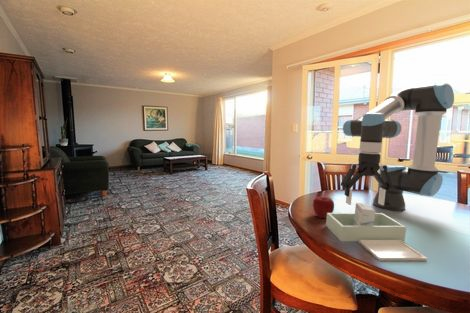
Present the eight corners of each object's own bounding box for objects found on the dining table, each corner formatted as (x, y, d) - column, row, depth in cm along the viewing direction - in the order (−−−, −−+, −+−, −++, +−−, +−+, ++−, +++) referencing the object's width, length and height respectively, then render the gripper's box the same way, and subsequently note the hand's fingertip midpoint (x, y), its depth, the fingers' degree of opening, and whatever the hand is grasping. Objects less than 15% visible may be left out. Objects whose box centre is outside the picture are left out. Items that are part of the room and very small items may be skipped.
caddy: (380, 225, 103) (382, 213, 102) (404, 241, 89) (406, 226, 88) (326, 225, 102) (326, 212, 102) (341, 241, 88) (342, 226, 88)
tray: (399, 242, 88) (400, 239, 88) (426, 261, 76) (426, 257, 76) (359, 242, 88) (359, 239, 87) (379, 261, 76) (379, 257, 76)
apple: (314, 211, 119) (315, 193, 117) (334, 215, 114) (335, 196, 113) (310, 218, 111) (311, 198, 109) (331, 222, 106) (333, 201, 104)
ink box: (352, 228, 100) (354, 202, 99) (365, 229, 99) (367, 203, 98) (359, 237, 92) (361, 209, 90) (373, 238, 91) (375, 210, 89)
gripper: (393, 152, 95) (388, 201, 98) (334, 151, 95) (330, 200, 97) (407, 154, 88) (401, 207, 90) (343, 153, 87) (338, 206, 90)
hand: (364, 204), depth 94 cm, fingers open, 13 cm apart
